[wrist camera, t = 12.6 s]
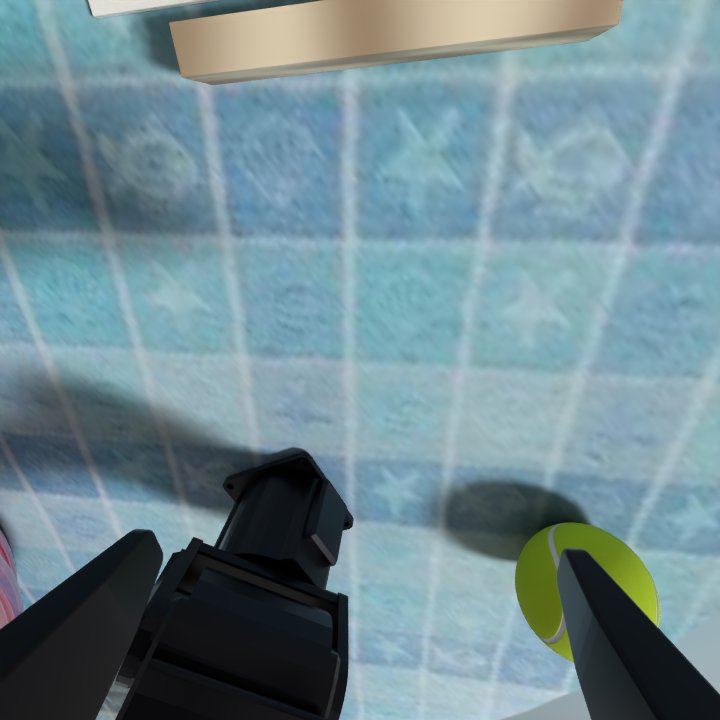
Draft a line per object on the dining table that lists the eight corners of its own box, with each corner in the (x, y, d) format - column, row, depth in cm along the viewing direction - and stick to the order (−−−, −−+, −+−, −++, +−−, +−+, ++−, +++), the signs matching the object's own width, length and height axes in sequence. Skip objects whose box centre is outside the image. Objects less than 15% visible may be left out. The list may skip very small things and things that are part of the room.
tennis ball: (644, 509, 24) (722, 636, 18) (594, 581, 28) (645, 707, 22) (526, 487, 24) (563, 604, 18) (491, 560, 28) (512, 680, 22)
